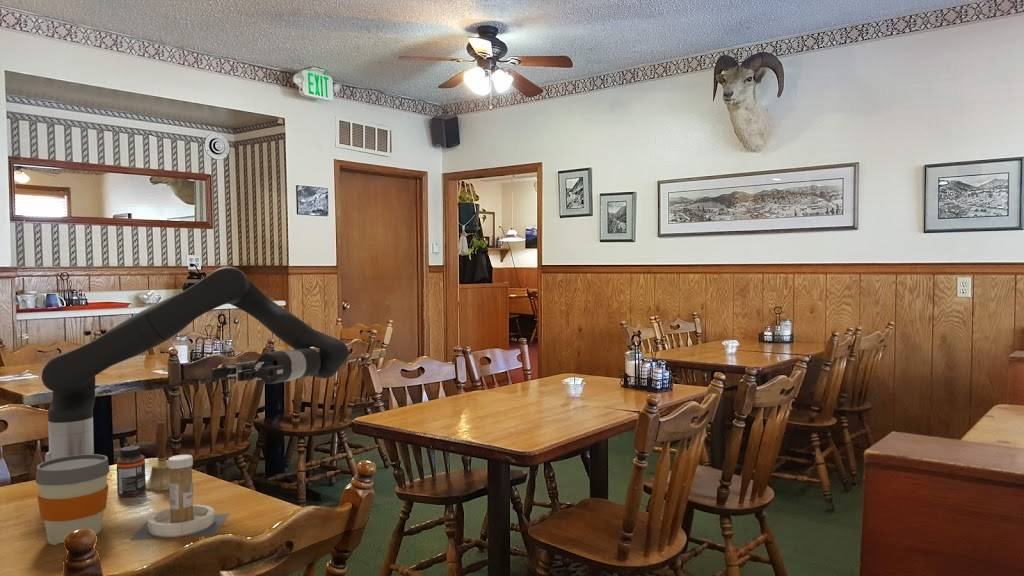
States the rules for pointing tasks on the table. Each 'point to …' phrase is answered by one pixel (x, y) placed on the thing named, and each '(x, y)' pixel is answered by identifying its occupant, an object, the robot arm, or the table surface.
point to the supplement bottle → (131, 473)
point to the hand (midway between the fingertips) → (225, 375)
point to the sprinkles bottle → (181, 488)
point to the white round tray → (163, 527)
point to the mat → (213, 529)
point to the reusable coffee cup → (72, 494)
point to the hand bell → (160, 463)
